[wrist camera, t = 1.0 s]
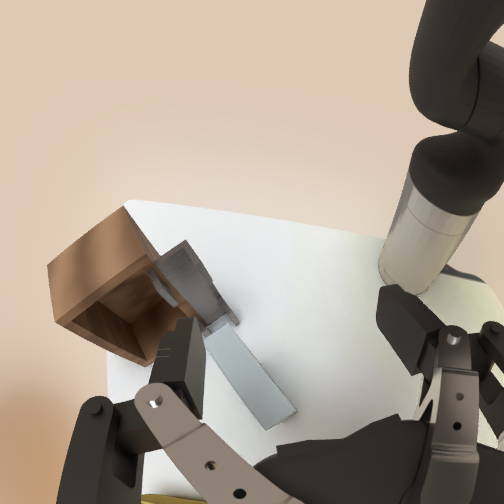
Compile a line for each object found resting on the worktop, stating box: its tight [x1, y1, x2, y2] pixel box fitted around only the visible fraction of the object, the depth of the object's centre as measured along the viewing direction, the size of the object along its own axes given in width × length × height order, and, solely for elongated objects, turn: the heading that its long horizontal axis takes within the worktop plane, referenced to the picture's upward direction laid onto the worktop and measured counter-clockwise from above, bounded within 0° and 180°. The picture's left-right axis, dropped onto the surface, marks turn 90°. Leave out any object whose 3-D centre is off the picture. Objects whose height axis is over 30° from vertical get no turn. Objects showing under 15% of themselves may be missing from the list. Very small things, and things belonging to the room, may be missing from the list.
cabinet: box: [47, 206, 209, 367], centre depth 30 cm, size 11×8×18 cm
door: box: [203, 323, 297, 431], centre depth 24 cm, size 2×8×16 cm, turn 35°
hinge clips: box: [148, 240, 240, 338], centre depth 30 cm, size 5×3×16 cm
